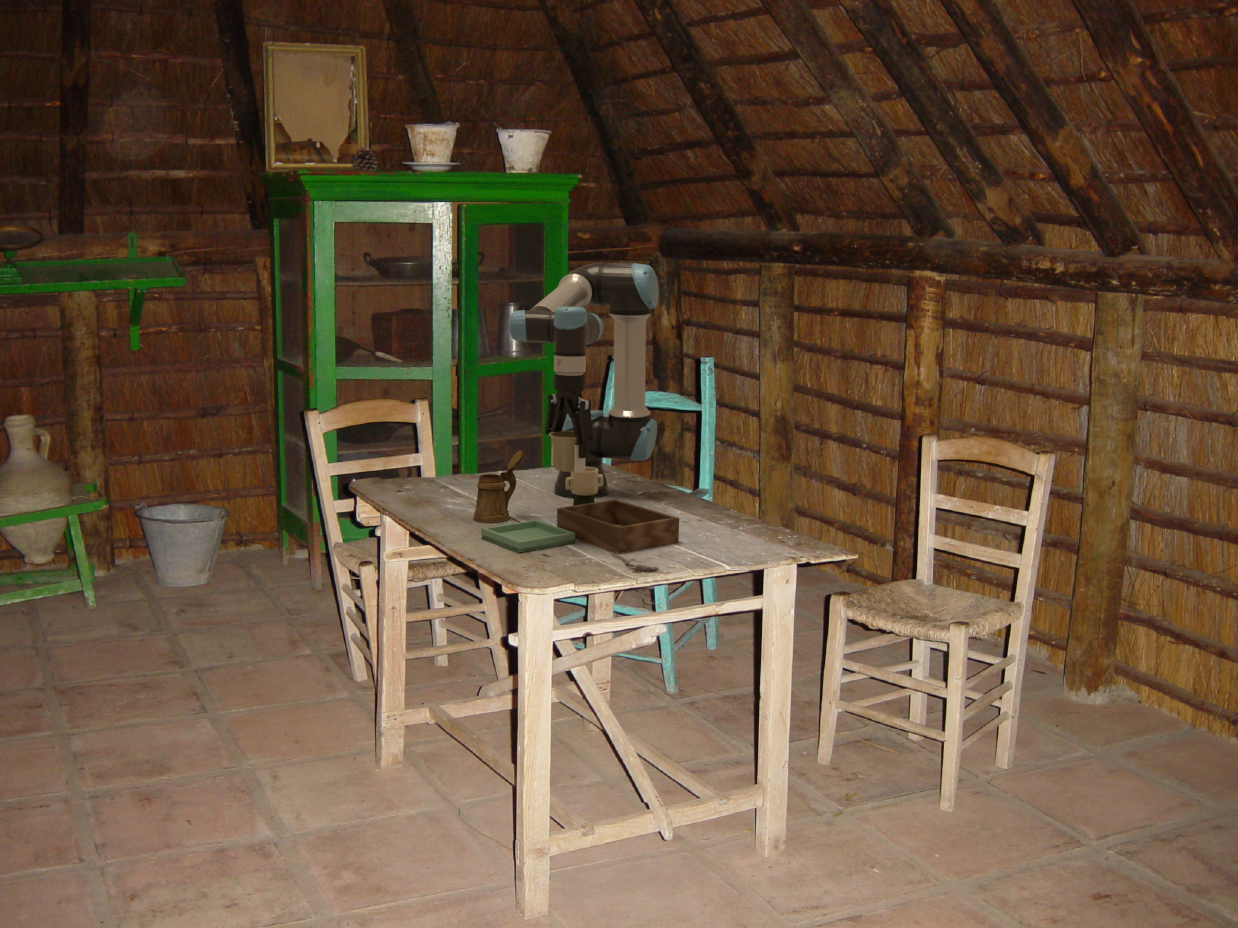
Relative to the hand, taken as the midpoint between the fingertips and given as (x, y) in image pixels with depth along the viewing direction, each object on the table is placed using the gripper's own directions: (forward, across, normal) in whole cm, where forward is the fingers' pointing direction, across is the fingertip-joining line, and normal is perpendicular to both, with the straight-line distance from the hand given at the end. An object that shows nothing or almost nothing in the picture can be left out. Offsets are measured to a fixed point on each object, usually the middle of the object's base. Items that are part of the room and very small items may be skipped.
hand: (568, 468), depth 288 cm
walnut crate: (+17, +5, +11) cm, 22 cm away
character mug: (+18, -15, +17) cm, 28 cm away
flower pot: (+1, 0, 0) cm, 1 cm away
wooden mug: (+18, -27, -1) cm, 32 cm away
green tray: (+17, -4, -8) cm, 20 cm away
